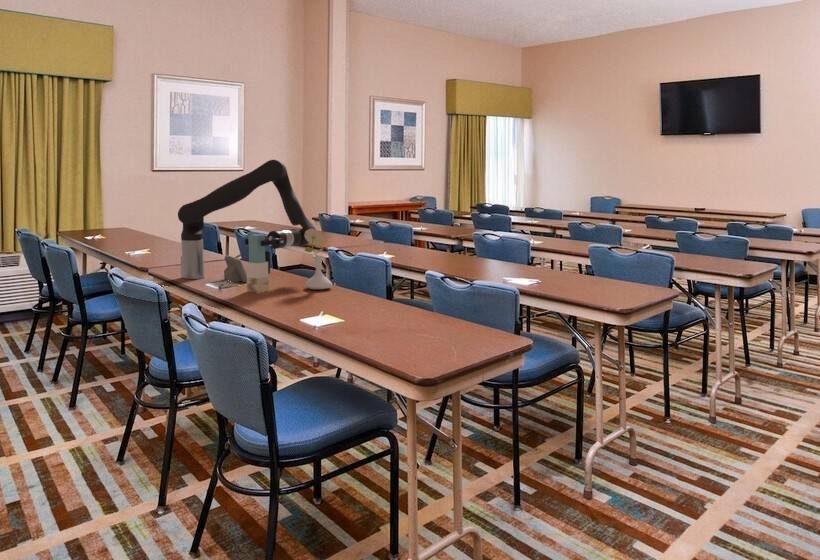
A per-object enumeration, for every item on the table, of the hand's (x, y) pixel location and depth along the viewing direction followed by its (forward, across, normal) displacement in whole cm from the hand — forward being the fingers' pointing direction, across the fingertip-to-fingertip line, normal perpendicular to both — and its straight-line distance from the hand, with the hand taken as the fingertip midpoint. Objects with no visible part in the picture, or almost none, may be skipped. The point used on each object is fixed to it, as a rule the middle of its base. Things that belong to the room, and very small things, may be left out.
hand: (253, 242), depth 261 cm
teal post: (-2, 0, +8) cm, 8 cm away
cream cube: (-2, 0, +14) cm, 14 cm away
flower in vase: (-20, +16, +20) cm, 33 cm away
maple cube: (-2, 0, +20) cm, 20 cm away
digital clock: (-16, -25, +20) cm, 36 cm away
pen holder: (-36, -30, +20) cm, 51 cm away
